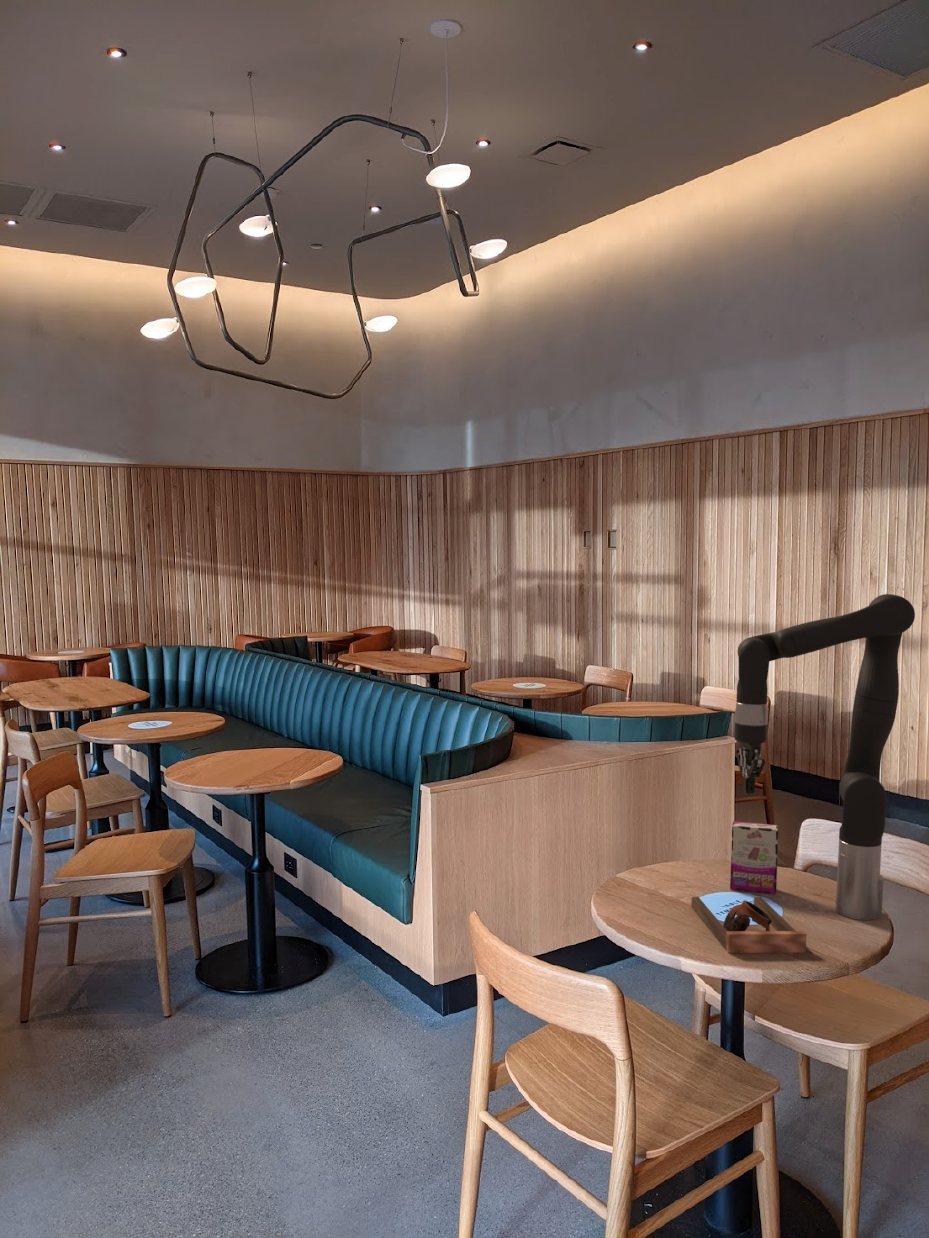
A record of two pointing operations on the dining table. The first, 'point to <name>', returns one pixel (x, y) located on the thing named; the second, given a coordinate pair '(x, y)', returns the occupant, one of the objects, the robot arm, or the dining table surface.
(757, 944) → the bay
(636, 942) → the dining table surface
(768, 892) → the candy bar box
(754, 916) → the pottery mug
